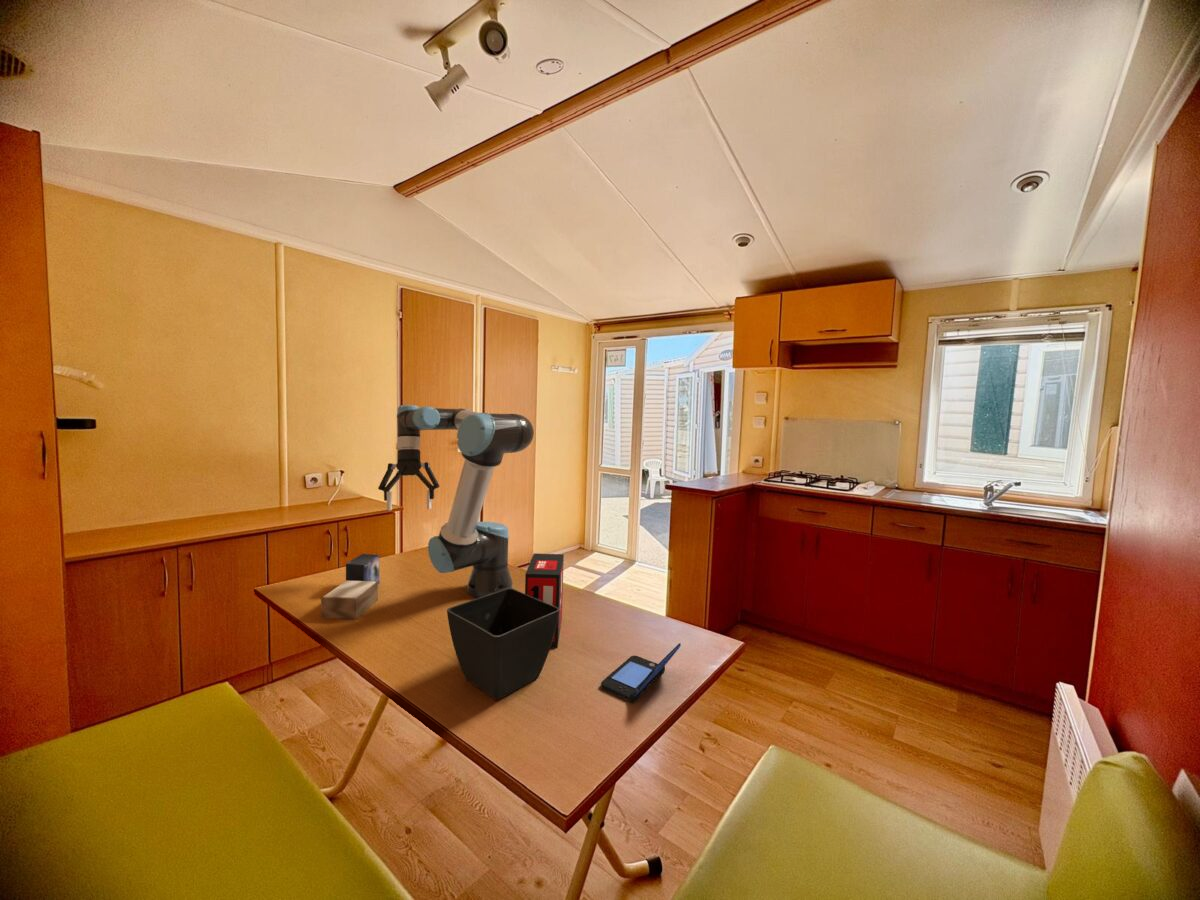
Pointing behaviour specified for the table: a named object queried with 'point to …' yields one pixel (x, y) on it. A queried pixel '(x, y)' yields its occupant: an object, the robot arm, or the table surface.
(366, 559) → the small box
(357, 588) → the base
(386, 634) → the table surface
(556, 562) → the cleaning product box
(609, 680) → the black walkie-talkie
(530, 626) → the flower pot
